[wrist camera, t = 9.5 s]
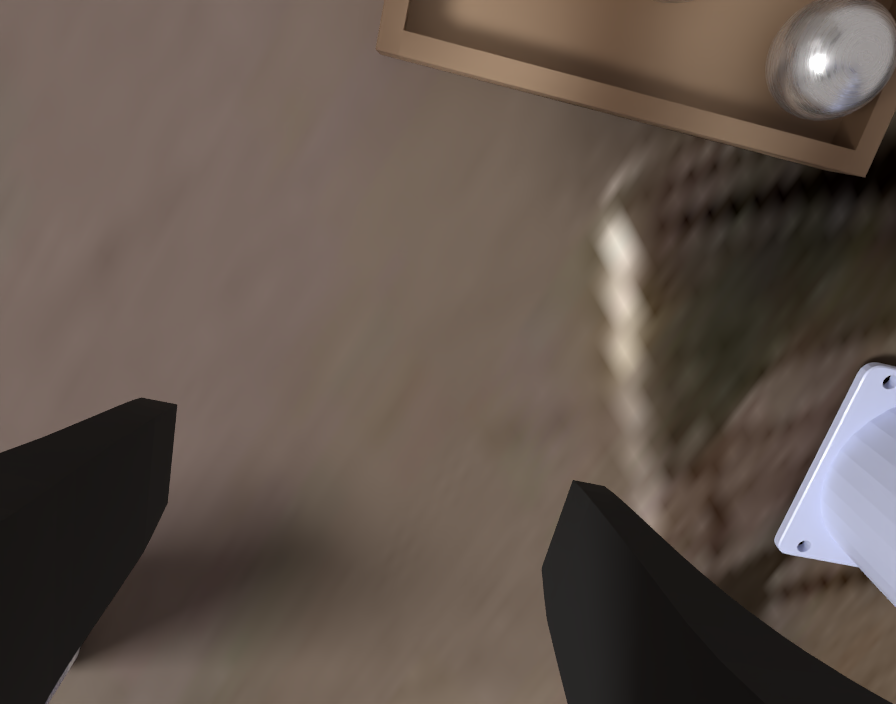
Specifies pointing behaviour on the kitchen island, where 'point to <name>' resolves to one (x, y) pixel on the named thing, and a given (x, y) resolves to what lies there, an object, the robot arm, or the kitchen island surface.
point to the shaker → (673, 1)
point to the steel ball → (831, 58)
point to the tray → (641, 66)
